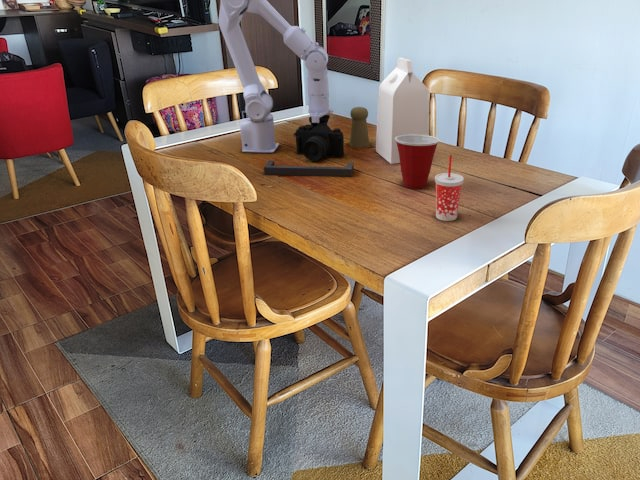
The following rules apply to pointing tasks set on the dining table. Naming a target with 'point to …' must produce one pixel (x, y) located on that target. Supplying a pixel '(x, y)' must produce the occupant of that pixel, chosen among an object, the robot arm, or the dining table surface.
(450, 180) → the beverage cup
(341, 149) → the film camera
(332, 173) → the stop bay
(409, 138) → the plastic cup
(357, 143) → the cork
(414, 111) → the milk
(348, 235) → the dining table surface
